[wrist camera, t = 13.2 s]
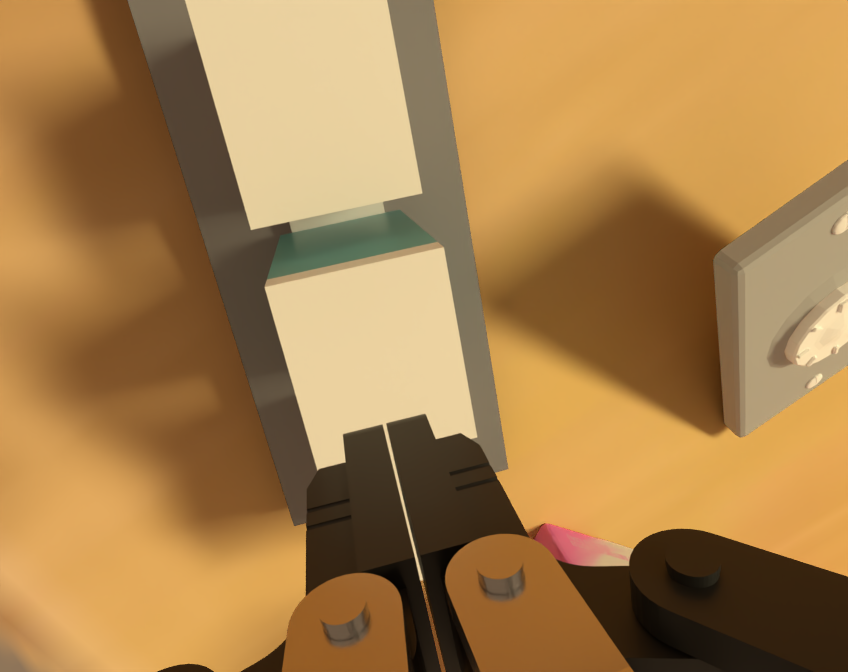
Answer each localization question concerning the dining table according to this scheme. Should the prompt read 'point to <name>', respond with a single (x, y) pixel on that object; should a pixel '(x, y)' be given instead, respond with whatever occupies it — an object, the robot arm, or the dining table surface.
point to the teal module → (368, 330)
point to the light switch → (784, 304)
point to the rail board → (261, 243)
